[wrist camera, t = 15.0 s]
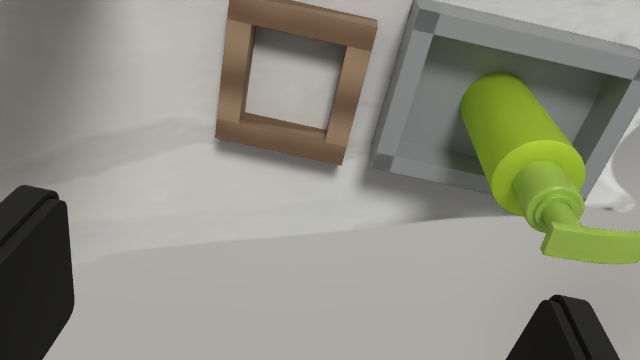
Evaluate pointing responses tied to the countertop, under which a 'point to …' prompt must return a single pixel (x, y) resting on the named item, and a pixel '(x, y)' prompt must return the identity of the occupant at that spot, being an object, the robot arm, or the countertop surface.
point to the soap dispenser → (537, 171)
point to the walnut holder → (305, 20)
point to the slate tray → (498, 57)
